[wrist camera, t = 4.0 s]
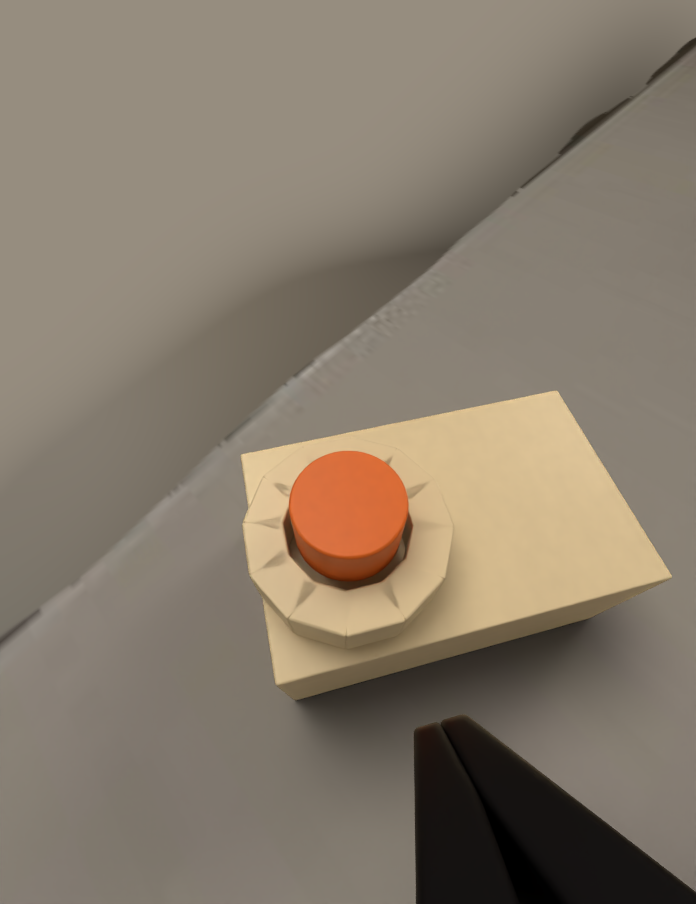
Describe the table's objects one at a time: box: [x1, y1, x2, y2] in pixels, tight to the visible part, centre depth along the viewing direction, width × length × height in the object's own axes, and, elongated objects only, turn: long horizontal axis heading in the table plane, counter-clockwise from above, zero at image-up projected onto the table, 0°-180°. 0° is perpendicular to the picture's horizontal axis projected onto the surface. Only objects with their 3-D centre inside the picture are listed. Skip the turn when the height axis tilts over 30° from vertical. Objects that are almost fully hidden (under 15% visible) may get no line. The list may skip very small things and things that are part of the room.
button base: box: [241, 391, 672, 700], centre depth 18 cm, size 8×13×8 cm, turn 104°
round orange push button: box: [289, 451, 409, 582], centre depth 13 cm, size 3×3×2 cm
